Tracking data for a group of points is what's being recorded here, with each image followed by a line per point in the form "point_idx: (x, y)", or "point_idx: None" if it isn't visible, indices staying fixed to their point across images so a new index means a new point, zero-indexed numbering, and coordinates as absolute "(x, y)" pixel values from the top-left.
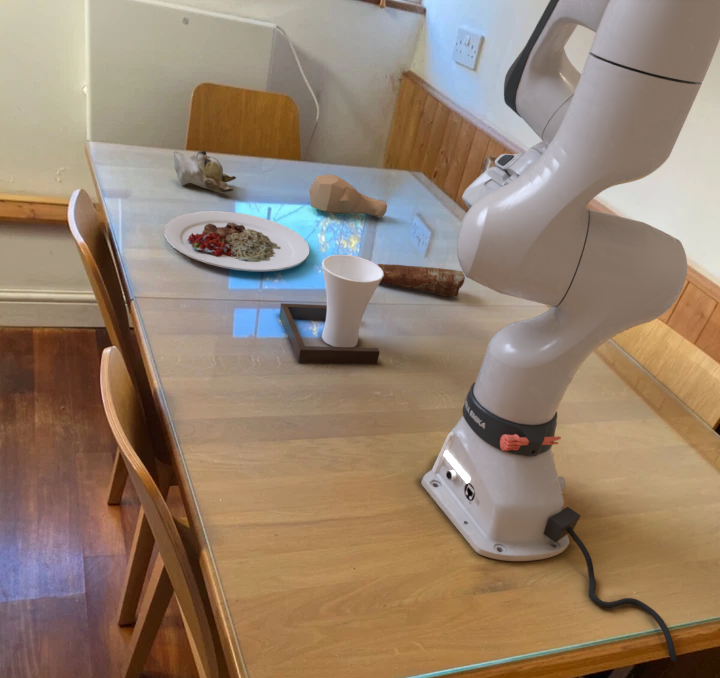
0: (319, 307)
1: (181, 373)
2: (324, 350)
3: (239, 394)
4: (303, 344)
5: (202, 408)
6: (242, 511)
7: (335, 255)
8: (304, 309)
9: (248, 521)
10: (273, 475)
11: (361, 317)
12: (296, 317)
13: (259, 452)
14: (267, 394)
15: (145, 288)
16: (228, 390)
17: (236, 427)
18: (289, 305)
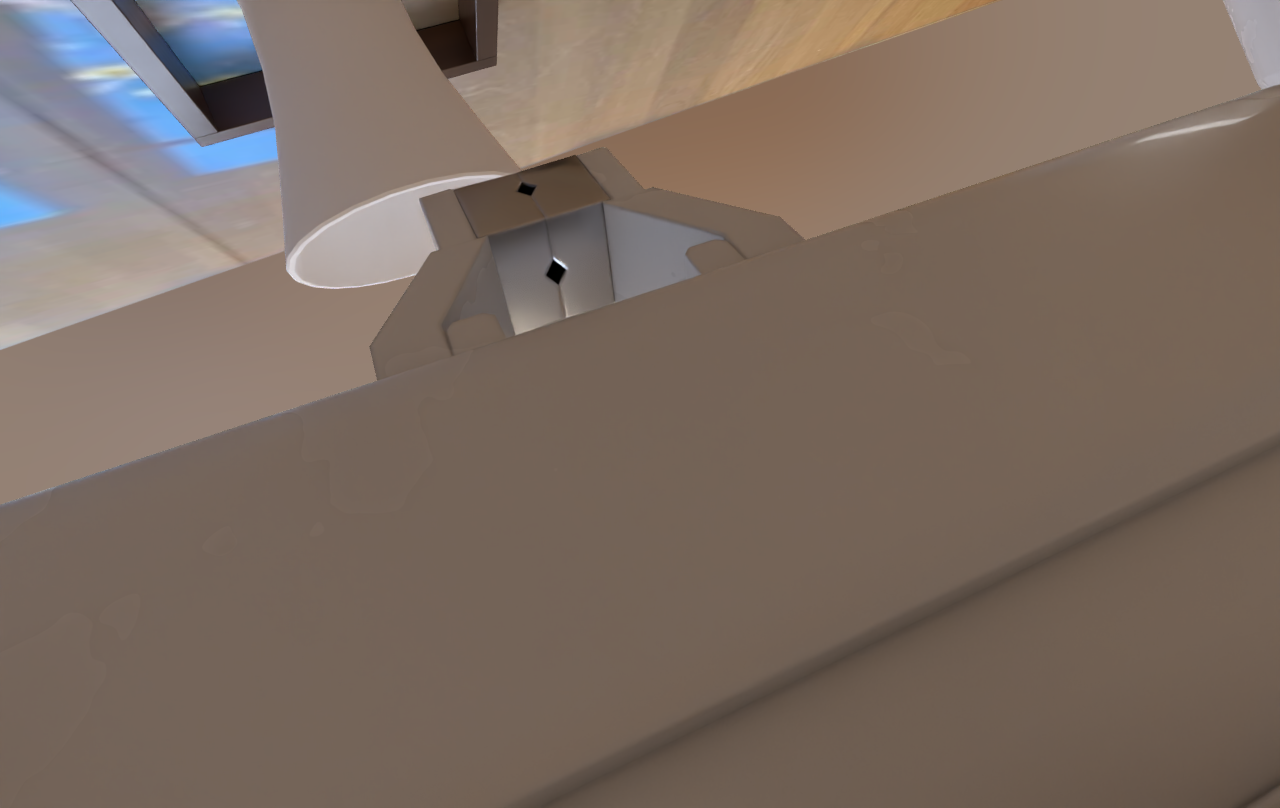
0: (161, 68)
1: (522, 152)
2: (497, 19)
3: (597, 84)
4: (468, 64)
5: (625, 109)
6: (853, 28)
7: (319, 285)
8: (189, 92)
9: (872, 20)
10: (818, 9)
11: (387, 11)
12: (187, 74)
13: (760, 33)
14: (607, 51)
15: (192, 273)
16: (582, 98)
17: (688, 67)
18: (207, 131)
